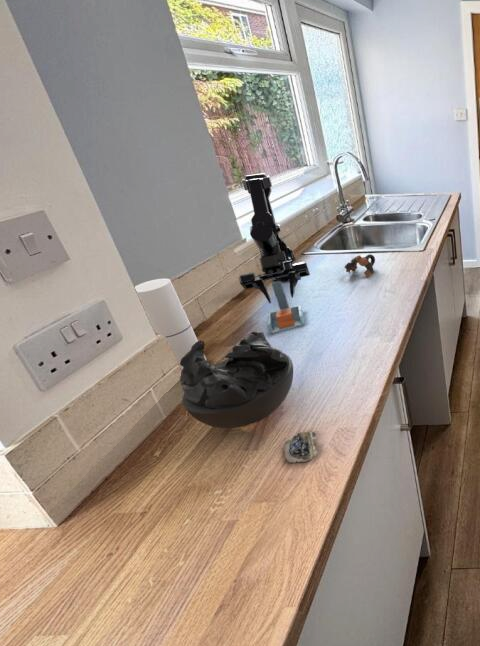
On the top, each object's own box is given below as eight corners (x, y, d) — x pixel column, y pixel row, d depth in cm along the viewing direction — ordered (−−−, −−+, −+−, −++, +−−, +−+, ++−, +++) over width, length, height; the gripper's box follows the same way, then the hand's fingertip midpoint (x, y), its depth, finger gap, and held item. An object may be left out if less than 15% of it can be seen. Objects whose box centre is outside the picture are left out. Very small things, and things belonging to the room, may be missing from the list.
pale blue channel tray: (271, 319, 127) (259, 285, 122) (302, 311, 131) (292, 278, 126) (271, 333, 119) (258, 298, 114) (304, 324, 123) (293, 290, 118)
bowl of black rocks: (321, 402, 92) (299, 333, 84) (226, 467, 77) (188, 390, 69) (276, 373, 102) (252, 309, 94) (184, 425, 88) (147, 354, 80)
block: (279, 322, 124) (276, 311, 122) (294, 319, 126) (290, 308, 124) (279, 329, 121) (276, 317, 119) (294, 325, 122) (290, 313, 121)
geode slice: (310, 428, 85) (307, 422, 84) (329, 447, 80) (327, 440, 79) (277, 449, 80) (274, 442, 79) (295, 471, 76) (292, 463, 75)
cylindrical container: (191, 380, 101) (148, 293, 91) (168, 377, 103) (123, 291, 92) (215, 362, 108) (177, 279, 97) (193, 360, 109) (154, 277, 98)
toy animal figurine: (363, 282, 150) (348, 265, 147) (352, 286, 156) (338, 270, 153) (385, 262, 157) (371, 246, 155) (374, 267, 164) (360, 252, 161)
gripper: (229, 251, 118) (238, 299, 114) (299, 238, 125) (310, 283, 121) (240, 266, 128) (249, 311, 123) (304, 253, 135) (315, 295, 131)
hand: (281, 300), depth 124 cm, fingers open, 6 cm apart
